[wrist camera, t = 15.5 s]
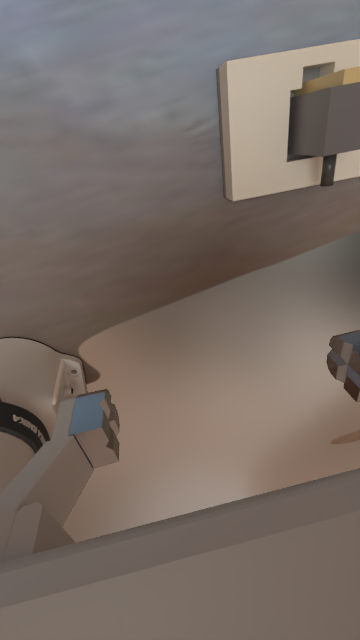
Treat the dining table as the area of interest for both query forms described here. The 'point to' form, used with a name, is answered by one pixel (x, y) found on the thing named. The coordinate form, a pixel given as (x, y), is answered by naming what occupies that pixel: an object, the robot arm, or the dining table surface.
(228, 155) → the socket block
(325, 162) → the plug
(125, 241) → the dining table surface
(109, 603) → the robot arm
